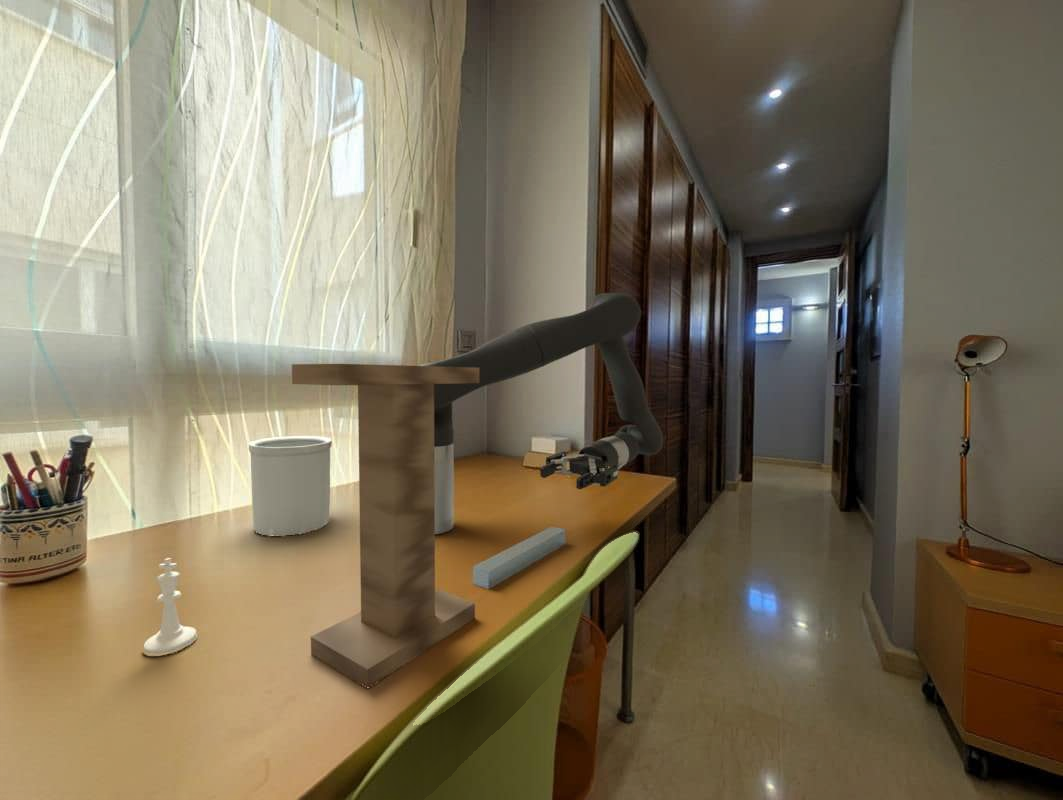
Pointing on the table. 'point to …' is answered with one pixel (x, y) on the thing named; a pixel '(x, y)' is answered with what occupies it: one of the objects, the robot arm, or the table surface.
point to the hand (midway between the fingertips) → (559, 478)
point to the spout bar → (517, 557)
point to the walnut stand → (392, 521)
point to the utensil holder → (290, 484)
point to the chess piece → (169, 617)
